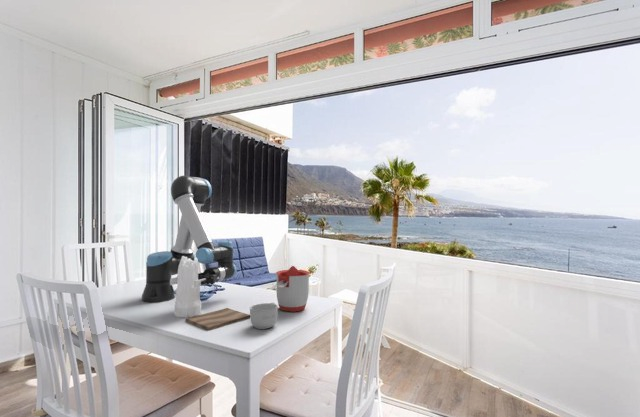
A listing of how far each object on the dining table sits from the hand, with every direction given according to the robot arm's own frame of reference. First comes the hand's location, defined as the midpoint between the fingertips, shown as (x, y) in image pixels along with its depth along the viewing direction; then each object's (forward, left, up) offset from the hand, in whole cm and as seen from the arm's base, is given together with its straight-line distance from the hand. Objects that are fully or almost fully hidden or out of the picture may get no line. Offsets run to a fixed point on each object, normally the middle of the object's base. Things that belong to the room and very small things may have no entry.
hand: (182, 283), depth 141 cm
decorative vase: (-1, +3, -14) cm, 15 cm away
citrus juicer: (+28, +38, -14) cm, 49 cm away
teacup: (+36, +15, -14) cm, 41 cm away
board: (+16, +7, -14) cm, 22 cm away
